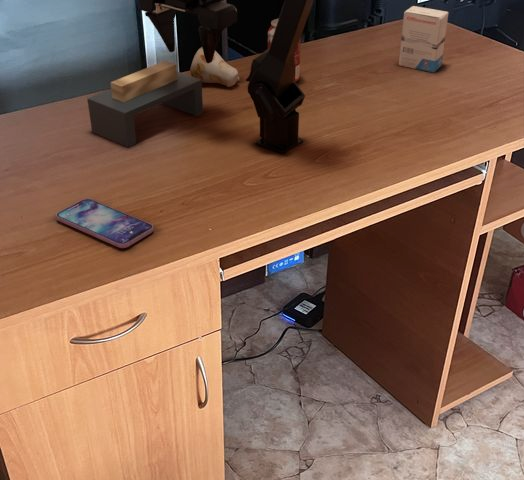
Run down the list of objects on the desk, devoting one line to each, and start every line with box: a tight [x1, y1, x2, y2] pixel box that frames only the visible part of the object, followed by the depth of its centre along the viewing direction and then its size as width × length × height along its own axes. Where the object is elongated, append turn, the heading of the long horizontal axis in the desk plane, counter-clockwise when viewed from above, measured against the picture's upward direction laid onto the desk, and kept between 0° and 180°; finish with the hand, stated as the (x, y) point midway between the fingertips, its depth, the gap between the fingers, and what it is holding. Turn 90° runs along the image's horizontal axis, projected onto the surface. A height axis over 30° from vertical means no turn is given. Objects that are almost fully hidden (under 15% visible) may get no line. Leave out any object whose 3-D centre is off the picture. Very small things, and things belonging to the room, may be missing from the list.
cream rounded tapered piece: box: [189, 46, 240, 88], centre depth 164 cm, size 8×10×10 cm
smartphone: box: [55, 198, 154, 249], centre depth 122 cm, size 7×1×15 cm
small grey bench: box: [86, 71, 204, 148], centre depth 149 cm, size 10×20×7 cm, turn 141°
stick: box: [110, 60, 178, 102], centre depth 146 cm, size 14×3×3 cm, turn 141°
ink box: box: [398, 5, 449, 73], centre depth 170 cm, size 9×5×12 cm, turn 58°
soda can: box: [267, 18, 302, 83], centre depth 163 cm, size 7×7×12 cm
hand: (190, 57), depth 143 cm, fingers open, 9 cm apart
